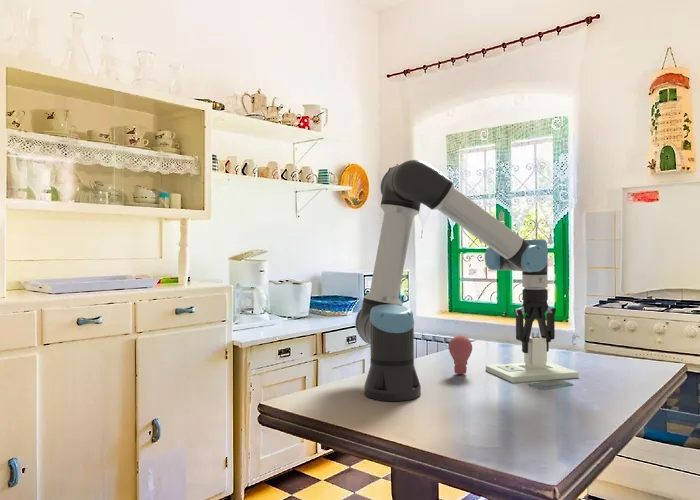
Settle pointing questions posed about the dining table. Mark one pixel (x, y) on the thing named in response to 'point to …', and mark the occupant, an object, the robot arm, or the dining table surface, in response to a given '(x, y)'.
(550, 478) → the dining table surface
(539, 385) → the phone
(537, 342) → the charger
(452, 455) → the dining table surface
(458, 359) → the light bulb
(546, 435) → the dining table surface
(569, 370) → the outlet plate
